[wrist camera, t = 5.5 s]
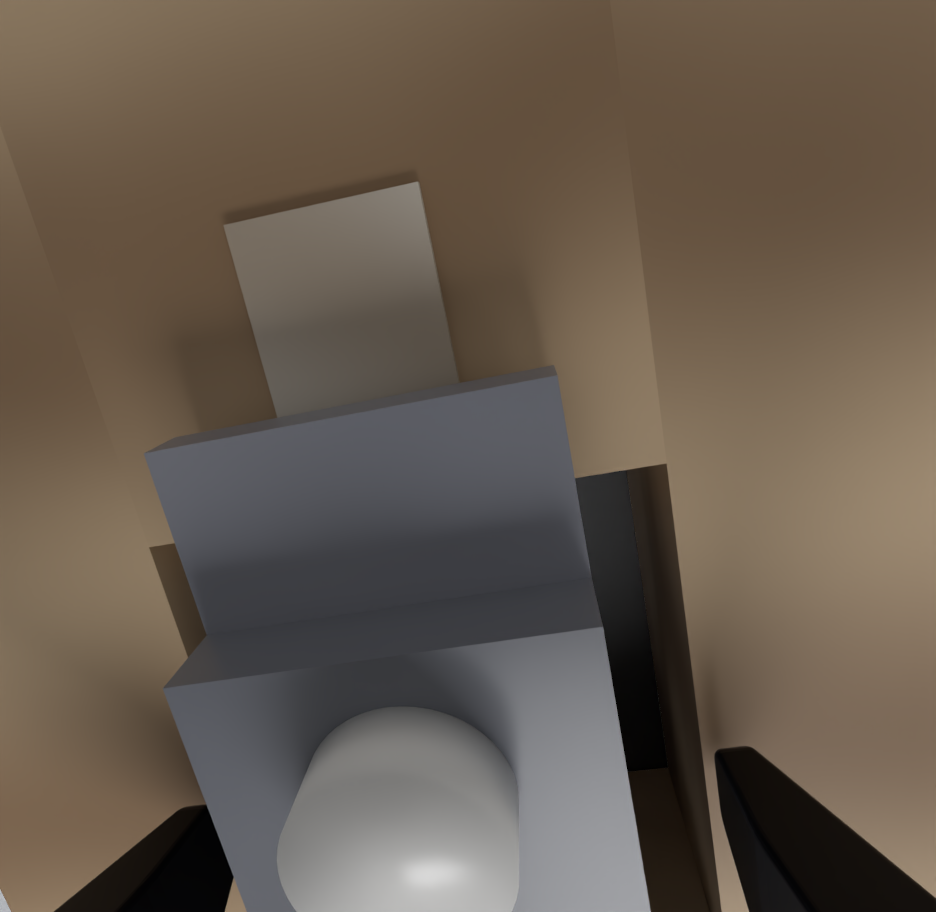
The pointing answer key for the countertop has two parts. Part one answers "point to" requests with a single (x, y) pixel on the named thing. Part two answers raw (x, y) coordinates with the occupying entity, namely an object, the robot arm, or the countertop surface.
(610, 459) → the chassis board
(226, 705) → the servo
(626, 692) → the countertop surface
